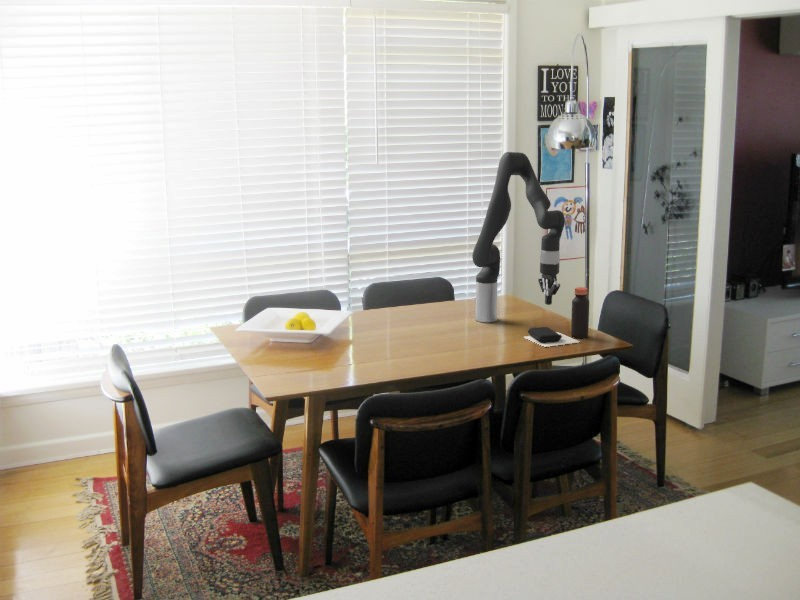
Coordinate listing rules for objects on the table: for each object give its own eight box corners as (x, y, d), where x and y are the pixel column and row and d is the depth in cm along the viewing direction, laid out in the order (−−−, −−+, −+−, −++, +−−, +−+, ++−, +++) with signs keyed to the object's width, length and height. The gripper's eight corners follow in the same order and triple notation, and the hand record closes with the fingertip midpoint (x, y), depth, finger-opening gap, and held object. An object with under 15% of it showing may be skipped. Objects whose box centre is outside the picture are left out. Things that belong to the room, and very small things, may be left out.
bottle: (588, 339, 337) (590, 290, 332) (570, 338, 338) (572, 290, 333) (587, 334, 343) (589, 286, 338) (570, 334, 344) (572, 286, 340)
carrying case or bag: (551, 325, 344) (565, 334, 330) (550, 332, 345) (565, 342, 331) (526, 327, 342) (539, 336, 328) (526, 334, 343) (539, 344, 329)
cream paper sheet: (523, 337, 340) (523, 336, 340) (557, 333, 346) (557, 331, 346) (545, 347, 326) (545, 346, 326) (580, 343, 332) (580, 341, 331)
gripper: (532, 259, 336) (531, 301, 340) (550, 265, 324) (549, 309, 328) (548, 257, 338) (547, 299, 342) (567, 263, 327) (565, 307, 331)
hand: (548, 304), depth 335 cm, fingers closed
